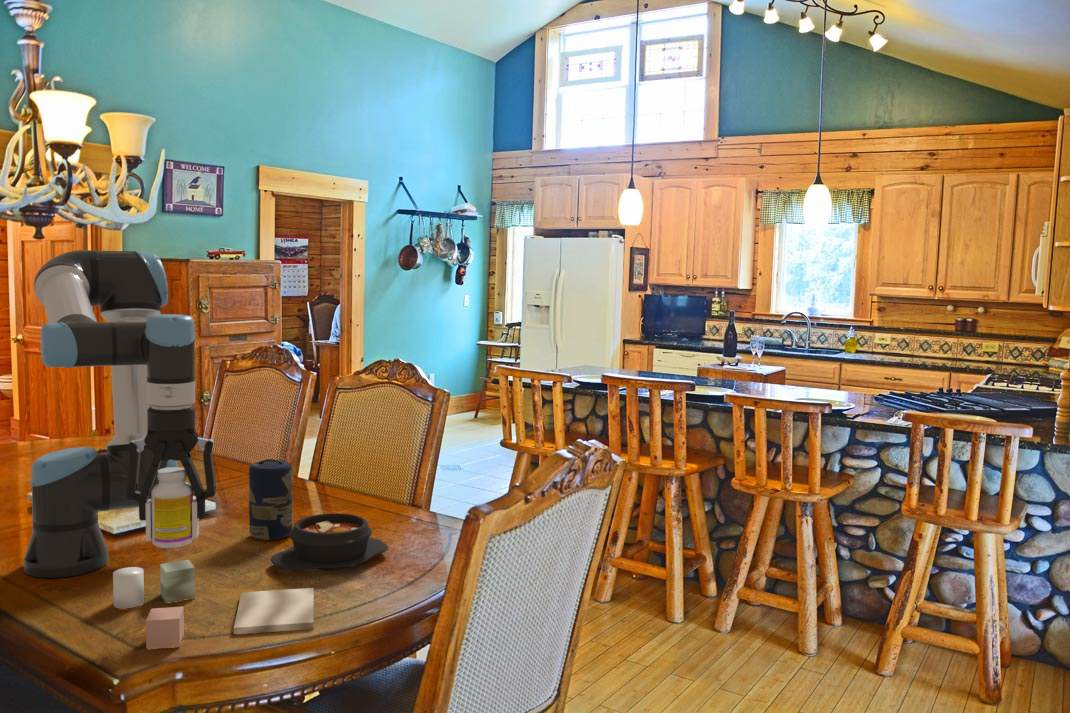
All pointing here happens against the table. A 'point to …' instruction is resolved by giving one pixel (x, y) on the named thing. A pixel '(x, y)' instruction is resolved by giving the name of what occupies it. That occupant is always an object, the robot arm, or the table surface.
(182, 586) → the sage block
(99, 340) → the robot arm
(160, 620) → the terracotta block
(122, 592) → the white domed cylinder
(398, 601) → the table surface
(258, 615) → the birch board
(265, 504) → the canister
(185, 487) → the supplement bottle
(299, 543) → the casserole
